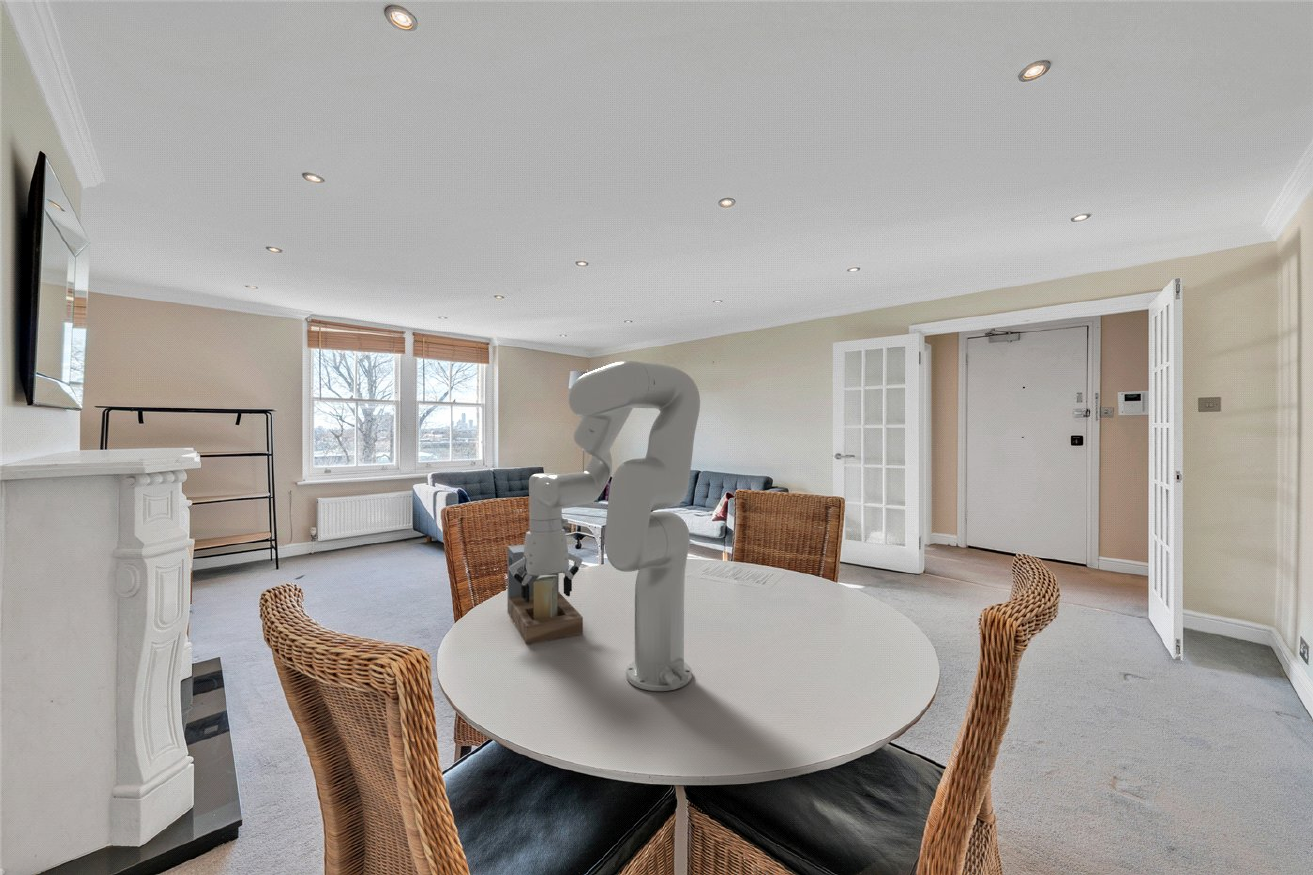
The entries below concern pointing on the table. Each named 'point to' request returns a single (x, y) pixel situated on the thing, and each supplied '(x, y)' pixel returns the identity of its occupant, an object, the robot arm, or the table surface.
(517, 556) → the grey overhang panel
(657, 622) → the robot arm
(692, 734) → the table surface
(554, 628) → the socket block
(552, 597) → the skincare box
